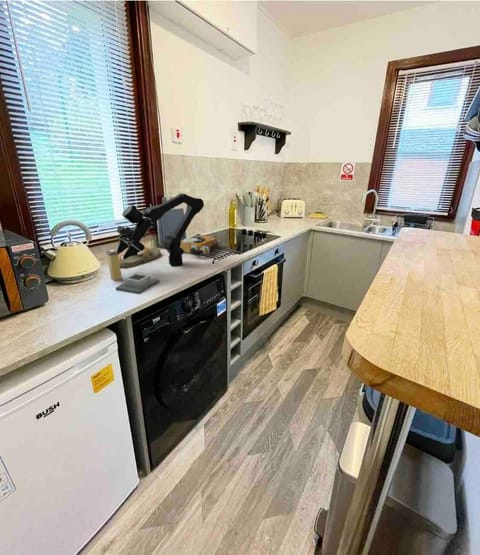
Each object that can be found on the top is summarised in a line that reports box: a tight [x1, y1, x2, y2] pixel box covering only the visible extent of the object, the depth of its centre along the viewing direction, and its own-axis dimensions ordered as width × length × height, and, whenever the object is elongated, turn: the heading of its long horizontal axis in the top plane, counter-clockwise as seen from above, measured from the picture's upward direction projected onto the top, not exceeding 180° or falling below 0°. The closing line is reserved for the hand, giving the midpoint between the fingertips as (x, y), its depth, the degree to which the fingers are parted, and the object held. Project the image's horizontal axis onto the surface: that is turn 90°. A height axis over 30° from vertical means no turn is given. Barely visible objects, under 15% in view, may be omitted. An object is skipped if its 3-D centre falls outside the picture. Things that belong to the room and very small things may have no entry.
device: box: [180, 233, 222, 256], centre depth 171 cm, size 23×8×30 cm
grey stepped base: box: [115, 273, 160, 295], centre depth 120 cm, size 14×12×4 cm
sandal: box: [119, 246, 162, 269], centre depth 153 cm, size 12×30×8 cm, turn 153°
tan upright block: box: [105, 249, 123, 282], centre depth 126 cm, size 4×5×14 cm
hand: (119, 256), depth 127 cm, fingers open, 9 cm apart
